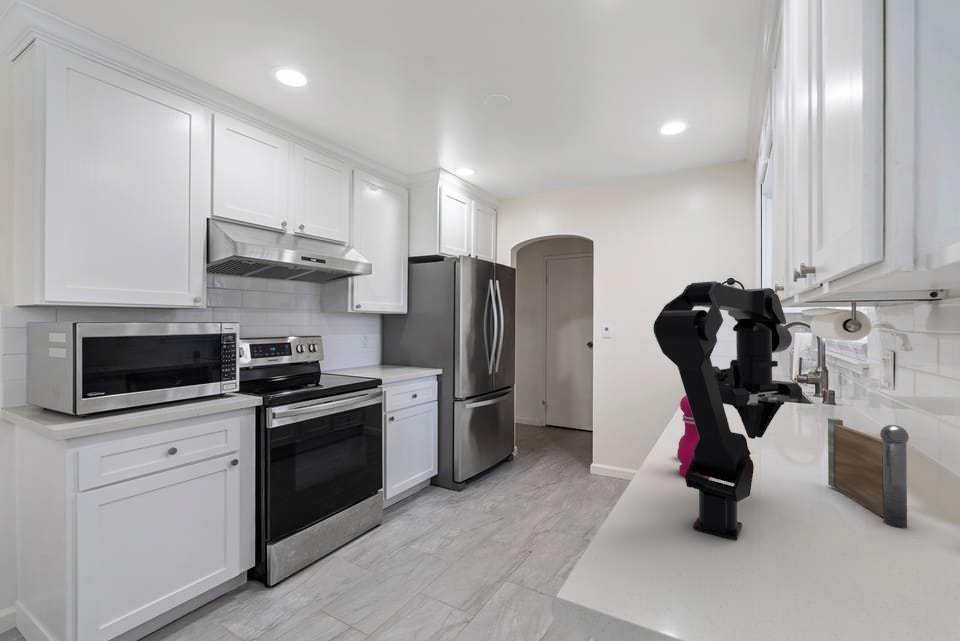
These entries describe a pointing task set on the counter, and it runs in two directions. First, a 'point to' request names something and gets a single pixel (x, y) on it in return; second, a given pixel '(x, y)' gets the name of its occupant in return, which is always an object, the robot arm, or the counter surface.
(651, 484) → the counter surface
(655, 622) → the counter surface
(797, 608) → the counter surface
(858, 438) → the gate
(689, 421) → the pepper mill
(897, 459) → the gate post
